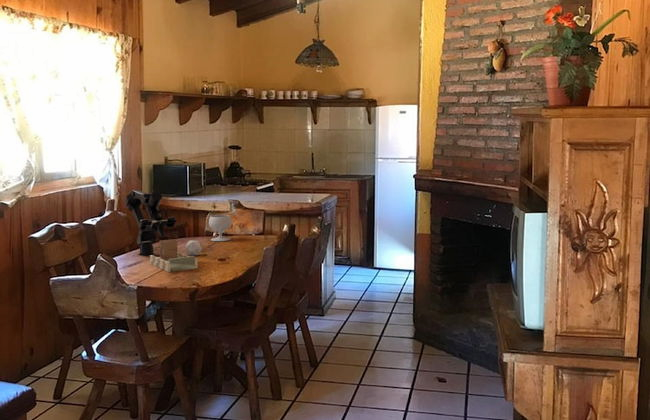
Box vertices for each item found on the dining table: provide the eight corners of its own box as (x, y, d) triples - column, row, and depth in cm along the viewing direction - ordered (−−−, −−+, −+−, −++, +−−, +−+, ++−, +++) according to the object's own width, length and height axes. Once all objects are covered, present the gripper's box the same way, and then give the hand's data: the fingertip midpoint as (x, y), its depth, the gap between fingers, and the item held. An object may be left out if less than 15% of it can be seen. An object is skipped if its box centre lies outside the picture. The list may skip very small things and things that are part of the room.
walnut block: (160, 258, 340) (159, 240, 339) (173, 256, 344) (172, 239, 343) (164, 260, 336) (163, 242, 334) (177, 258, 340) (177, 241, 338)
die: (193, 258, 359) (203, 243, 361) (180, 250, 360) (190, 235, 362) (196, 260, 367) (206, 246, 369) (183, 252, 367) (193, 238, 369)
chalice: (221, 242, 402) (221, 218, 400) (204, 240, 410) (203, 216, 408) (236, 239, 414) (236, 215, 412) (219, 237, 421) (219, 213, 420)
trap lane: (150, 264, 341) (149, 252, 340) (178, 260, 350) (178, 249, 349) (167, 272, 322) (167, 259, 321) (197, 268, 331) (197, 256, 330)
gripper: (166, 220, 363) (175, 243, 356) (133, 223, 353) (141, 247, 345) (171, 207, 356) (180, 230, 349) (137, 210, 345) (146, 234, 338)
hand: (162, 236), depth 345 cm, fingers closed
